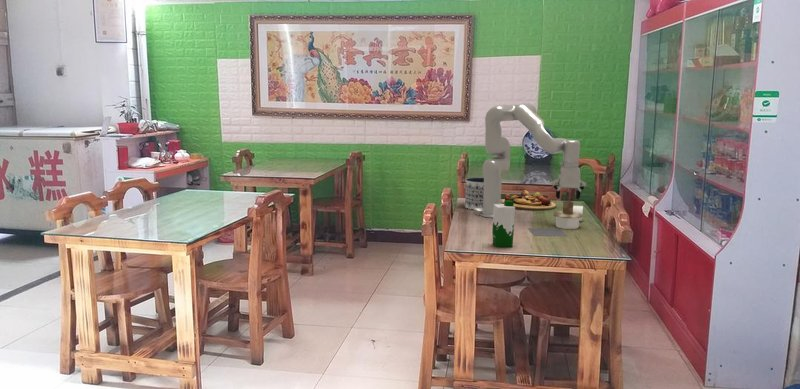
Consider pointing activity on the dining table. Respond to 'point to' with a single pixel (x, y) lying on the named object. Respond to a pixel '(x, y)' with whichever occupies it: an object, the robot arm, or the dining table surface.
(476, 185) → the planter
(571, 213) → the lid
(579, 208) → the mug
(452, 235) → the dining table surface
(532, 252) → the dining table surface
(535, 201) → the wooden plate with food
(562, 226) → the bowl
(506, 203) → the milk carton
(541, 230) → the mat
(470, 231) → the dining table surface
